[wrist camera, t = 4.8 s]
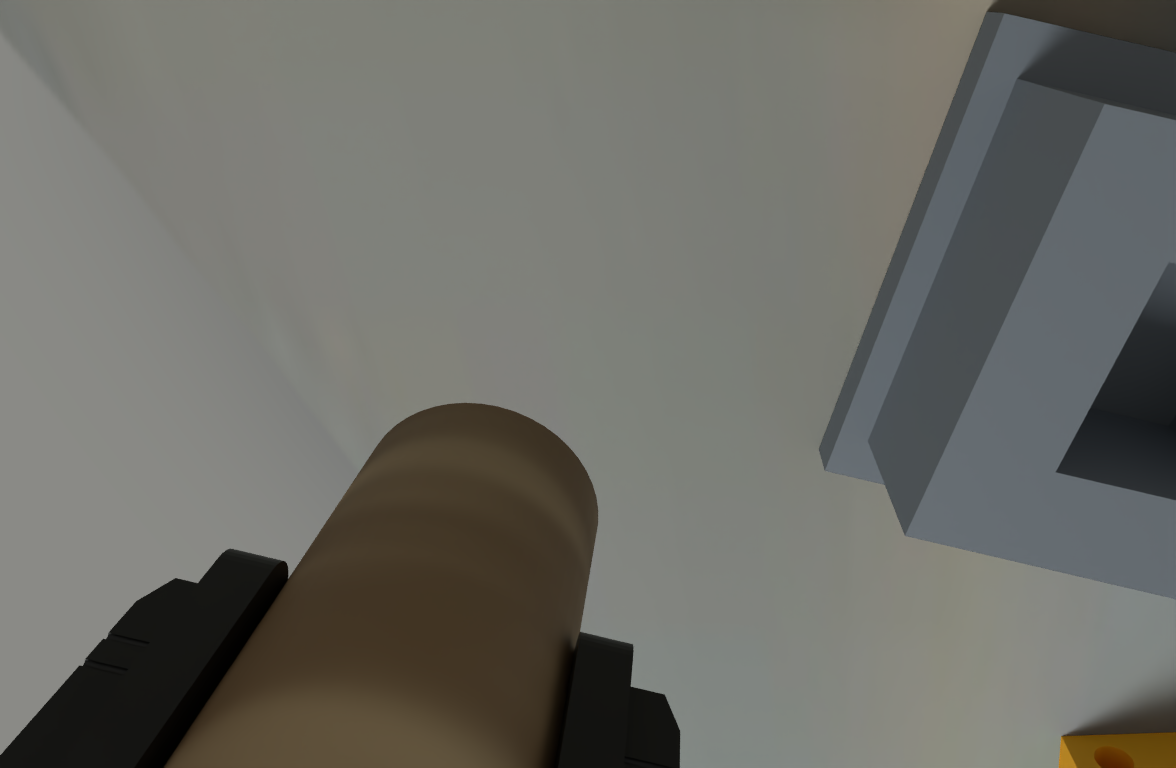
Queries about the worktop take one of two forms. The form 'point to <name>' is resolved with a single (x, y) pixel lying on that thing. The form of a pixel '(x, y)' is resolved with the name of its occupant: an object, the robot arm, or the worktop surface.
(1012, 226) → the socket block
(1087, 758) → the pipe clamp
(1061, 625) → the worktop surface
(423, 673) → the oak peg
